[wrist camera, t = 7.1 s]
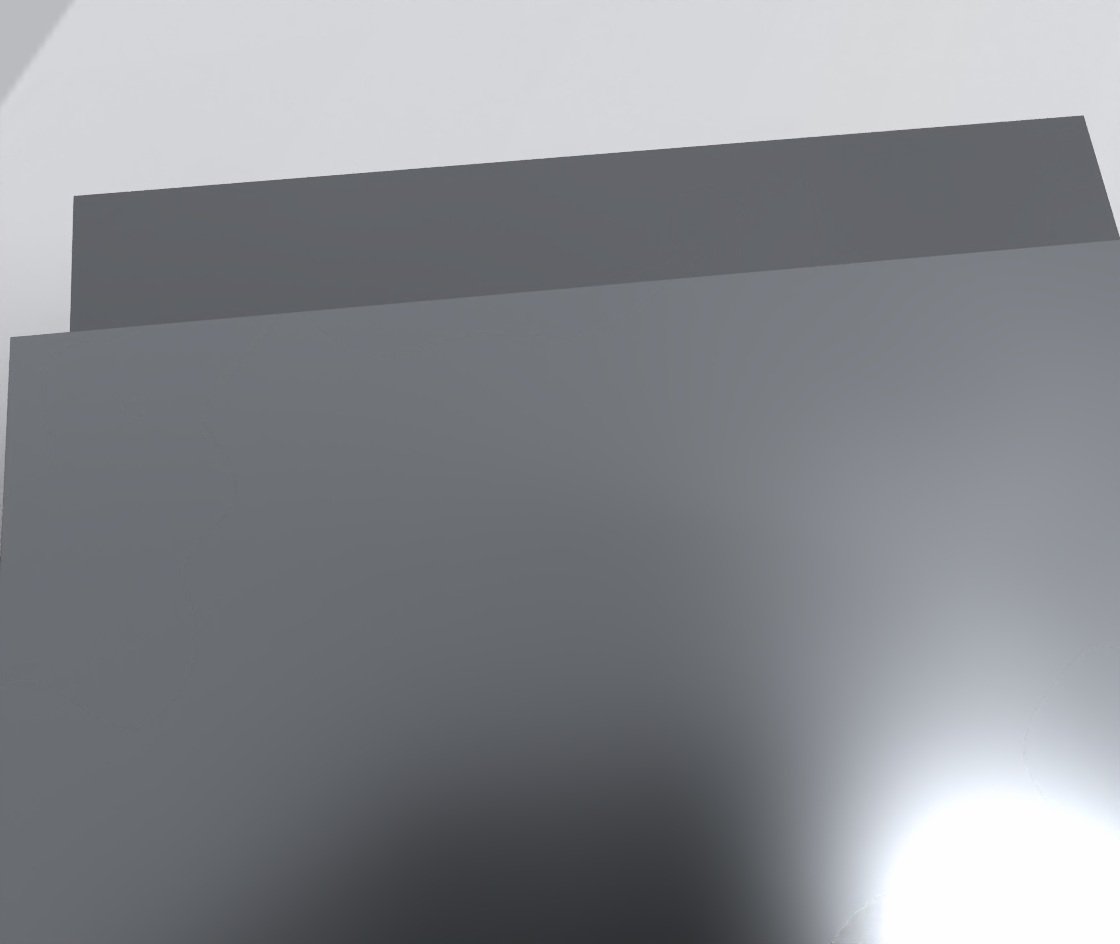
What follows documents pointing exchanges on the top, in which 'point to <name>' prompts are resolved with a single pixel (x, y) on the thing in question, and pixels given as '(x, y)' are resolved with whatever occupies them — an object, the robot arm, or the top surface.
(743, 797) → the jaw
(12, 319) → the top surface
